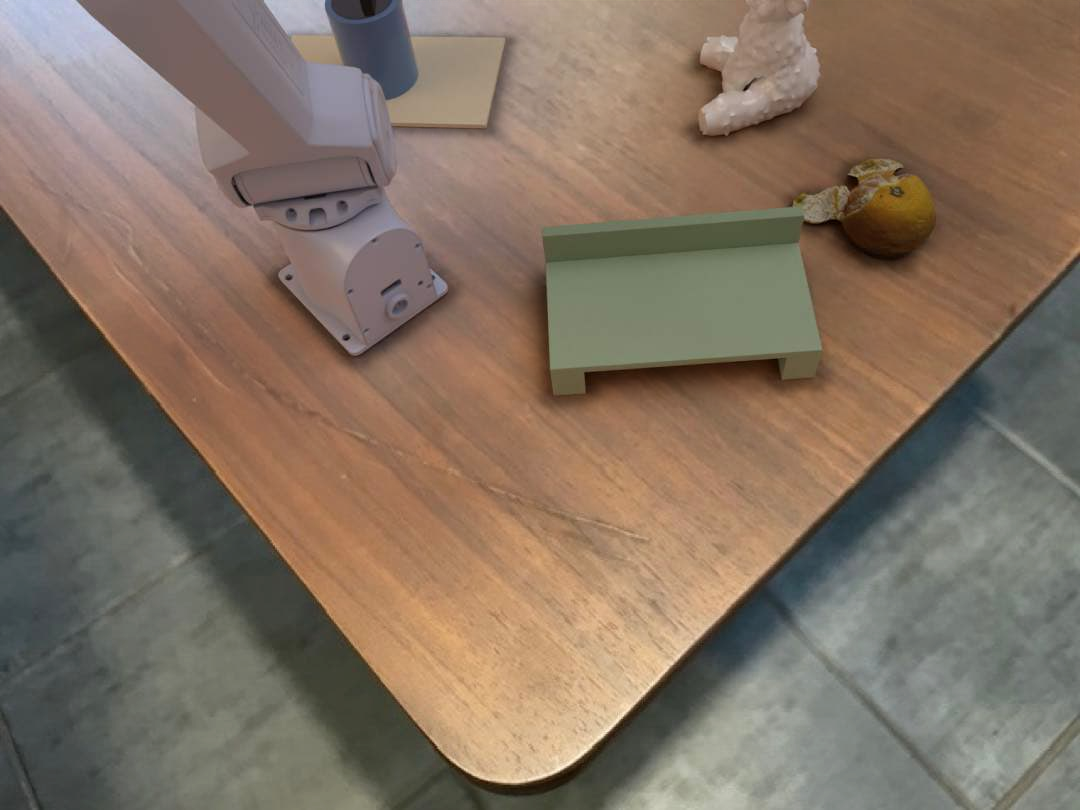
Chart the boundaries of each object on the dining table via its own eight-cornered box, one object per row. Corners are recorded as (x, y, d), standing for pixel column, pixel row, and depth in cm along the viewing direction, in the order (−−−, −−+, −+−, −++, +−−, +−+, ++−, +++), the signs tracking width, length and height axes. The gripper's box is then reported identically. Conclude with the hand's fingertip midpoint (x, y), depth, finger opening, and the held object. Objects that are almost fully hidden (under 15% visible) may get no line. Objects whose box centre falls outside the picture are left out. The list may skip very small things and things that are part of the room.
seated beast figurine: (698, 53, 75) (709, -95, 65) (812, 52, 74) (841, -99, 64) (697, 139, 70) (708, -6, 60) (819, 140, 69) (850, -8, 59)
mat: (505, 41, 78) (505, 37, 77) (486, 128, 73) (485, 124, 72) (293, 38, 80) (292, 34, 80) (260, 123, 75) (258, 119, 75)
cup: (432, 75, 76) (415, -4, 70) (375, 111, 74) (352, 34, 68) (391, 43, 78) (371, -36, 72) (335, 77, 76) (309, 0, 71)
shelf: (814, 377, 59) (830, 324, 54) (553, 396, 60) (546, 345, 55) (790, 263, 63) (802, 205, 59) (548, 282, 64) (541, 226, 60)
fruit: (876, 155, 68) (887, 115, 65) (963, 227, 64) (980, 188, 61) (783, 208, 66) (790, 169, 63) (866, 285, 62) (878, 248, 59)
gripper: (378, -250, 55) (422, -36, 67) (130, -223, 56) (217, -17, 67) (370, -182, 51) (419, 32, 63) (106, -154, 52) (203, 51, 64)
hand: (314, 12), depth 65 cm, fingers open, 7 cm apart
